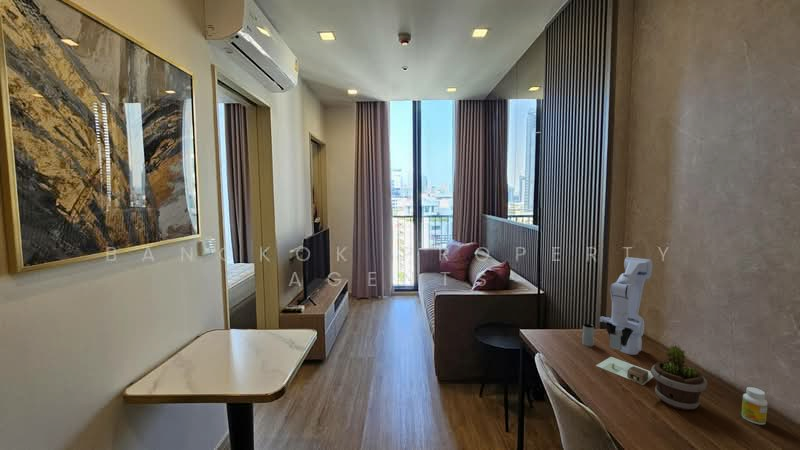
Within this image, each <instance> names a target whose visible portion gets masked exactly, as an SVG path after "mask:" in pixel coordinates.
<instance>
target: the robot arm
mask: <svg viewBox="0 0 800 450" xmlns="http://www.w3.org/2000/svg"><path fill="white" fill-rule="evenodd" d="M623 267H624V270H625V271H624V273H623V272H622V273H621V274H620V275H619V276H618V279H616V282H614V283H613V282H612V283H611V284H610V289H609V294H610V300H611V317H608V316H607V317H606V316H600V317H599V322H601V323H605V324H604V327H605V329H606V331H607V333H608V336H609V338H610V333H612V332H614V331H615V330H619V331H622V335H623V341H622V345H623V346H625V345H627V347H622V350H621V351H620V352H621V353H624V354H628V355H630V356H631V355H632V356H633V355H634V356H635V355H638V354H639V352H641V351H642V344H643V339H642V337H643V335H644V332H645V320H644V318H643V317H641V316H640V315H639V312H640V311H639V310H640V308H641V307H640V306H641V301H642V296H643V290H644V285H645V282H646V280H650V279H651V276H652V272H653V260H652V259H651V258H648V259H647V258H641V257H640V258H639V257H631V256H627V257H625V259H624V262H623Z"/></svg>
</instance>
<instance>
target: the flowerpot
mask: <svg viewBox="0 0 800 450" xmlns="http://www.w3.org/2000/svg"><path fill="white" fill-rule="evenodd" d="M680 347H681V346H680V345H679V344H677V343H676V342H675V343H674V344H672V345H670V346H669V347H668V348H667V352H665V356H666V357H665V361H657V362H656V363H655V364H654V365H652V366H651V369H650V371H651V373H652V376H653V378H654V380H655V384H656V385H655V387H654V390H655V391H654V393H655V394H656V396H657V397H658V398H659V401H661V402H662V403H664V404H665V405H667V406H669V407H670V408H673V409H677V410H681V411H689V410H690V411H694V410H695V409H697V408H698V407H699V405H700V404H701V403H700V402H701V398H700V396H701V394H702V392H703V391H705V390H706V389H707V385H708V381H707V379H706V378H705V377H704V375H702V372H700V371H699V370H697V369H696V367H693V365H692V364H691V365H690V364H689V365H686V364H687V363H688V361H687V360H686V359H687V358H688V356H687V353H686V351H685V350H684V349H682V348H680Z"/></svg>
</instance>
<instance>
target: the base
mask: <svg viewBox="0 0 800 450" xmlns="http://www.w3.org/2000/svg"><path fill="white" fill-rule="evenodd" d="M633 366H634V367H637V368H640V369H642V370H645V371H648V379H647V380H646V381H645V382H643V383H640V382H639V379H638V381H634V380H633V377H632V378H628V377H627V372H628V369H630V368H631V367H633ZM595 367H598V368H600V369H602V370H606V371H608V372H610V373H612V374H615V375H618V376H619V377H620V376H621V377H623V378H625V379H628V380H629V381H632V382H635V383H637V384H639V385H642V386H644V385H645V384H646V383H648V382H649V381H650V380H652V379H653V378H654V377H653V376H652V373H651V370H648V369H645V368H642V367H640V366H637V365H635V364H631V363H629V362H627V361H624V360H621V359H619V358H616V357H613V356H609V357H608V358H606V359H604V360H603V361H601V362H599V363H597V364H596V365H595Z"/></svg>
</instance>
